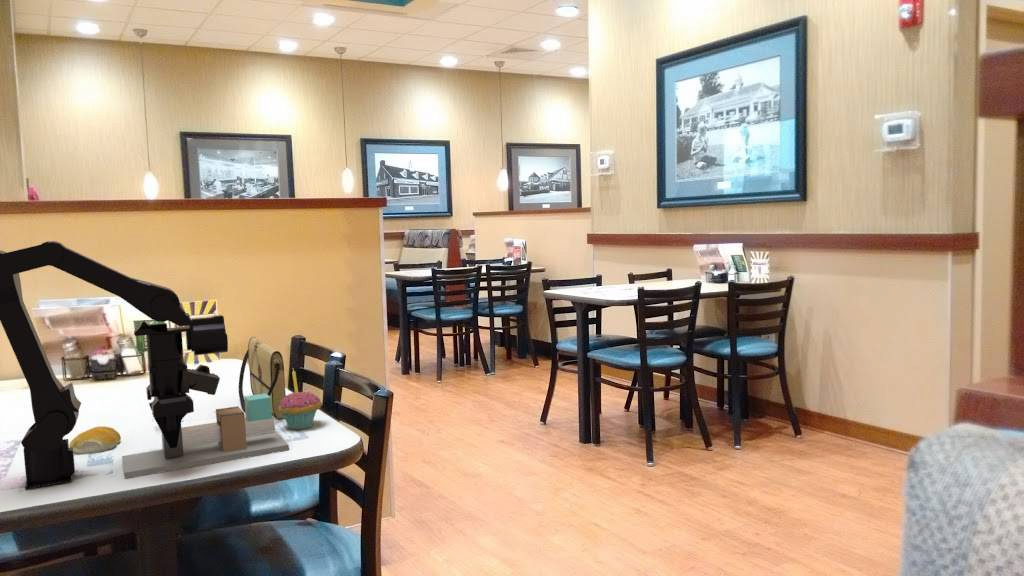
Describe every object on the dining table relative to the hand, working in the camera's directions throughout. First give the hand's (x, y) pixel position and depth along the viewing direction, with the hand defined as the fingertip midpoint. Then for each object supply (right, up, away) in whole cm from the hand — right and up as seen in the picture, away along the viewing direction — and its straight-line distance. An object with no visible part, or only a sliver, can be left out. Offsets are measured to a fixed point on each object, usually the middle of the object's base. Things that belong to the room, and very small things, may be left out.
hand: (172, 444), depth 134 cm
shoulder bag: (+3, 0, +37) cm, 37 cm away
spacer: (+13, +4, +7) cm, 15 cm away
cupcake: (+17, -1, +21) cm, 27 cm away
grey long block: (+7, -1, +4) cm, 8 cm away
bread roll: (-20, -3, +11) cm, 23 cm away
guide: (+5, -3, +3) cm, 6 cm away
